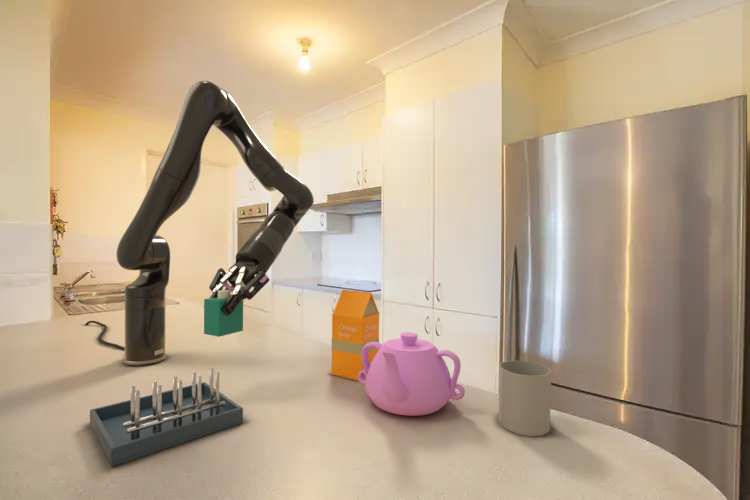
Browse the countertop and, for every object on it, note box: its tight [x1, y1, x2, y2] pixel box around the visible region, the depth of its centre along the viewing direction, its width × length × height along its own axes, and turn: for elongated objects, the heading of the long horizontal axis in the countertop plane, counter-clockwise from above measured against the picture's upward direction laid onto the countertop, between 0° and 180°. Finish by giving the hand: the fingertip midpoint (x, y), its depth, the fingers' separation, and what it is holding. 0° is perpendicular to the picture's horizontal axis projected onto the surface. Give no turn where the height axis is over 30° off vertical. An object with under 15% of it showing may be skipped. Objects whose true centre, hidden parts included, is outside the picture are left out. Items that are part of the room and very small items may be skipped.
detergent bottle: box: [203, 289, 244, 338], centre depth 77 cm, size 4×6×8 cm
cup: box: [498, 360, 552, 437], centre depth 67 cm, size 8×8×10 cm
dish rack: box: [123, 367, 225, 441], centre depth 62 cm, size 3×15×9 cm, turn 135°
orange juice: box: [331, 289, 380, 382], centre depth 93 cm, size 8×9×20 cm
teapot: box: [357, 331, 466, 417], centre depth 73 cm, size 22×22×14 cm
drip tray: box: [89, 381, 244, 468], centre depth 66 cm, size 17×19×3 cm
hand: (216, 311), depth 76 cm, fingers closed on detergent bottle, 4 cm apart
